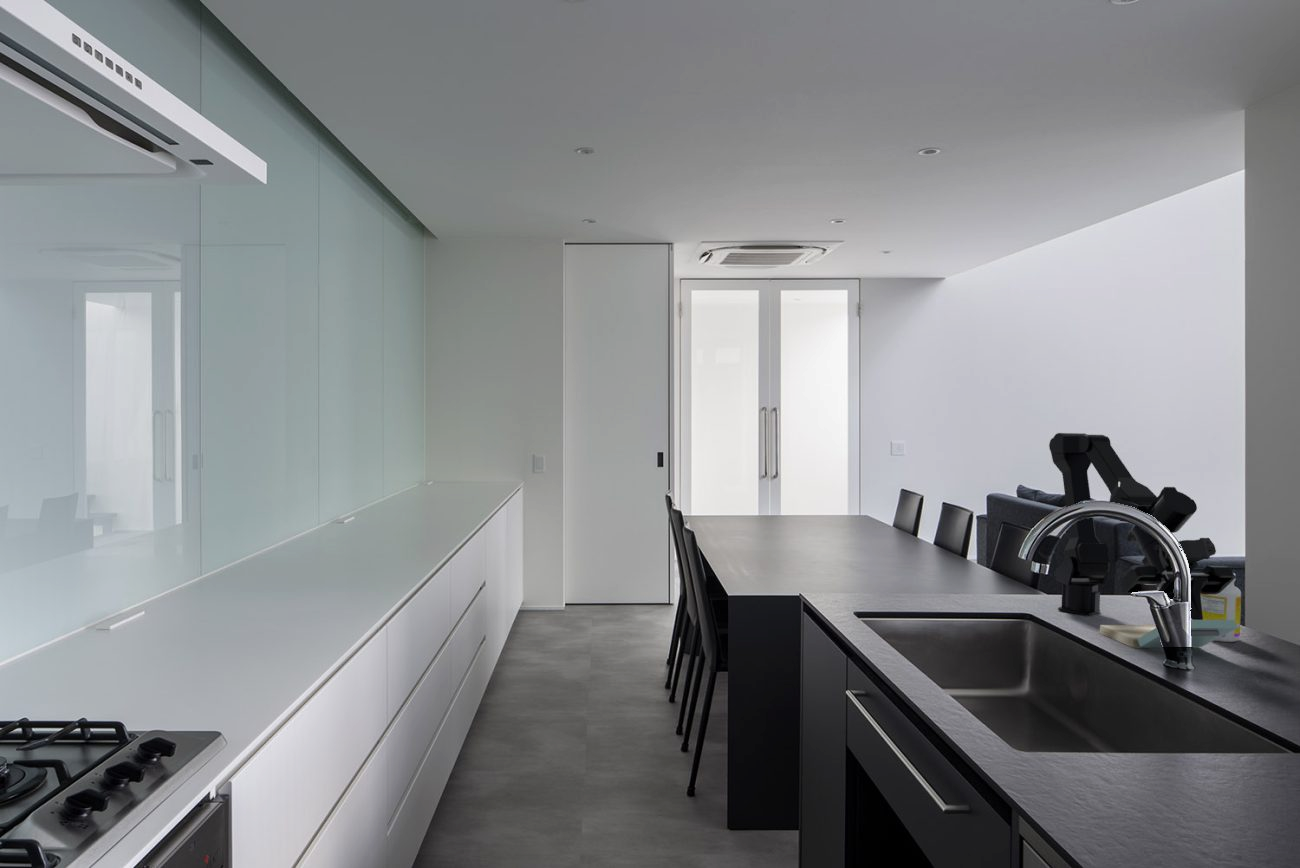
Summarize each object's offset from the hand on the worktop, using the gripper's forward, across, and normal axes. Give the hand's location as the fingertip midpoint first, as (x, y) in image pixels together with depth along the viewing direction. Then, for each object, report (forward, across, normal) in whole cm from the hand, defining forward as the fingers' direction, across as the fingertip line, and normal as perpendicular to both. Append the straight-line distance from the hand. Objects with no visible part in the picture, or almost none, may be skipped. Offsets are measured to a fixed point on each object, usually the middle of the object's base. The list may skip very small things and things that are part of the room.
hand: (1199, 620), depth 147 cm
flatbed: (-4, 0, +14) cm, 15 cm away
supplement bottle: (-5, +15, +15) cm, 22 cm away
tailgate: (0, 0, +9) cm, 9 cm away
